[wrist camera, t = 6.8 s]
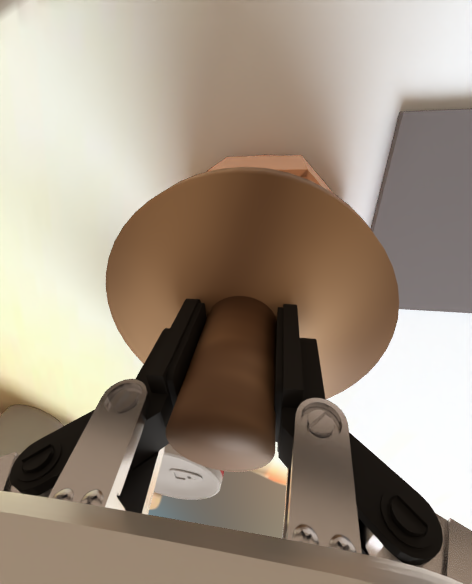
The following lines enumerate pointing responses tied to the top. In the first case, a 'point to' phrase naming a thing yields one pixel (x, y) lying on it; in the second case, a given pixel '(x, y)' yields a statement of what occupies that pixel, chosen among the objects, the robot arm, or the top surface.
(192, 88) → the top surface
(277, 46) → the top surface
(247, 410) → the lid
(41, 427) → the coffee mug
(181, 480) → the canned food
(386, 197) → the mat
